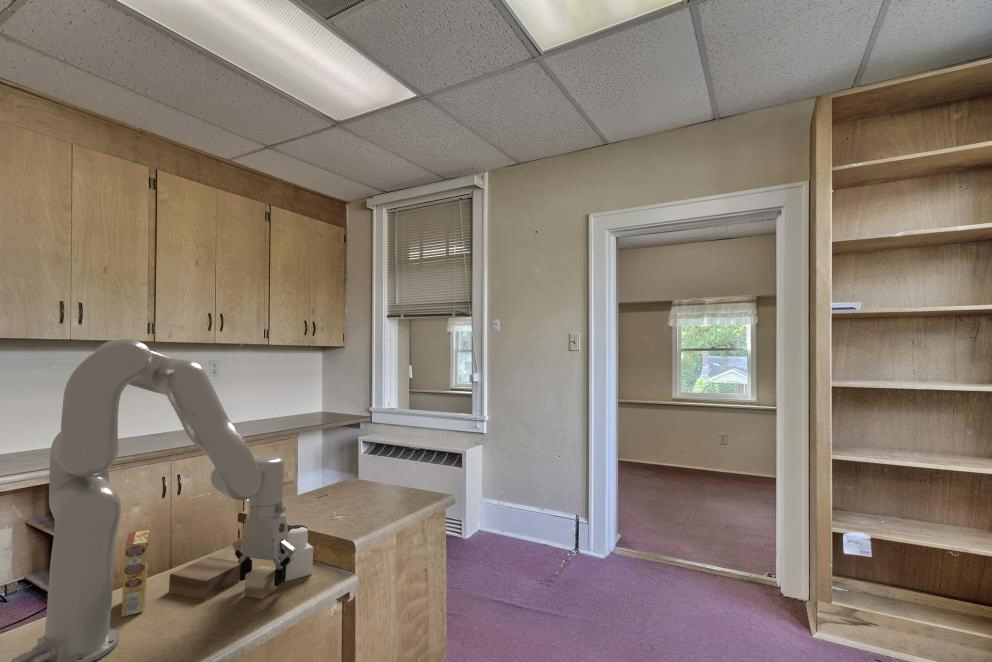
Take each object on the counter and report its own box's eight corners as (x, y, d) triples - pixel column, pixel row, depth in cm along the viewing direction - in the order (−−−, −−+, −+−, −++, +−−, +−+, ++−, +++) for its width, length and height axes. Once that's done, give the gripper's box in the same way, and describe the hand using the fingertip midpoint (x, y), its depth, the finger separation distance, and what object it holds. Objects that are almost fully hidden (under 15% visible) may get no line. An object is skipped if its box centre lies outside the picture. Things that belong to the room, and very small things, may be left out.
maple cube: (262, 599, 114) (263, 577, 114) (244, 595, 115) (245, 574, 116) (276, 589, 119) (277, 568, 119) (259, 586, 120) (260, 565, 120)
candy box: (143, 612, 106) (148, 541, 107) (119, 618, 104) (124, 545, 105) (146, 596, 114) (150, 529, 115) (123, 600, 111) (128, 532, 112)
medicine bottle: (275, 572, 128) (277, 526, 129) (302, 565, 133) (304, 521, 133) (284, 582, 123) (287, 534, 123) (312, 574, 127) (314, 528, 128)
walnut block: (204, 601, 113) (206, 581, 113) (168, 593, 116) (169, 574, 116) (241, 580, 124) (242, 562, 124) (207, 574, 127) (208, 556, 127)
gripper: (306, 508, 120) (303, 579, 119) (247, 501, 124) (244, 570, 123) (286, 518, 113) (282, 593, 112) (224, 510, 117) (220, 583, 116)
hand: (262, 581), depth 118 cm, fingers open, 9 cm apart
